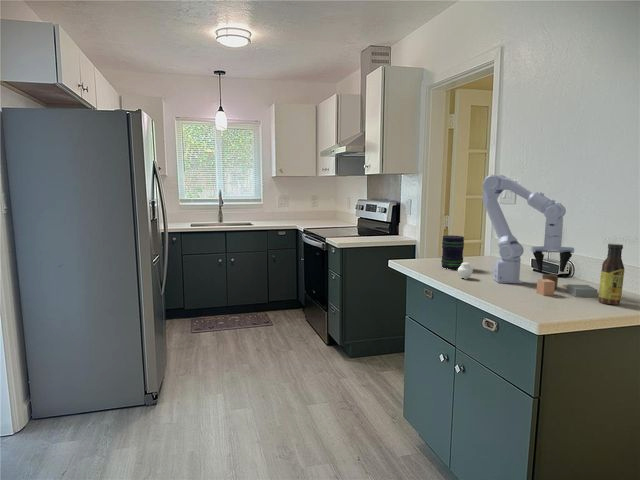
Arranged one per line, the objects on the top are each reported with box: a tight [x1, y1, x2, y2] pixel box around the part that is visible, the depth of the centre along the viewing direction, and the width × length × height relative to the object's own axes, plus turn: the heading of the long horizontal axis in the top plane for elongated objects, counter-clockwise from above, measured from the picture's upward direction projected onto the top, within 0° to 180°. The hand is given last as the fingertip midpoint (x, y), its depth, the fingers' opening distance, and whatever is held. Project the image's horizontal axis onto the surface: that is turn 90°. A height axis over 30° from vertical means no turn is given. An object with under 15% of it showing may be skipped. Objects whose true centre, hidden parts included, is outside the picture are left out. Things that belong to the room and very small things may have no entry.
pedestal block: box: [566, 283, 599, 298], centre depth 152 cm, size 7×7×3 cm
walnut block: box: [541, 273, 559, 290], centre depth 161 cm, size 4×4×5 cm
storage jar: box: [440, 235, 465, 269], centre depth 198 cm, size 10×10×15 cm
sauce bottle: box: [598, 243, 625, 306], centre depth 139 cm, size 6×6×20 cm
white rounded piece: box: [457, 261, 474, 280], centre depth 177 cm, size 6×6×7 cm
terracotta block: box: [536, 278, 555, 297], centre depth 151 cm, size 4×4×5 cm
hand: (550, 271), depth 160 cm, fingers open, 7 cm apart
